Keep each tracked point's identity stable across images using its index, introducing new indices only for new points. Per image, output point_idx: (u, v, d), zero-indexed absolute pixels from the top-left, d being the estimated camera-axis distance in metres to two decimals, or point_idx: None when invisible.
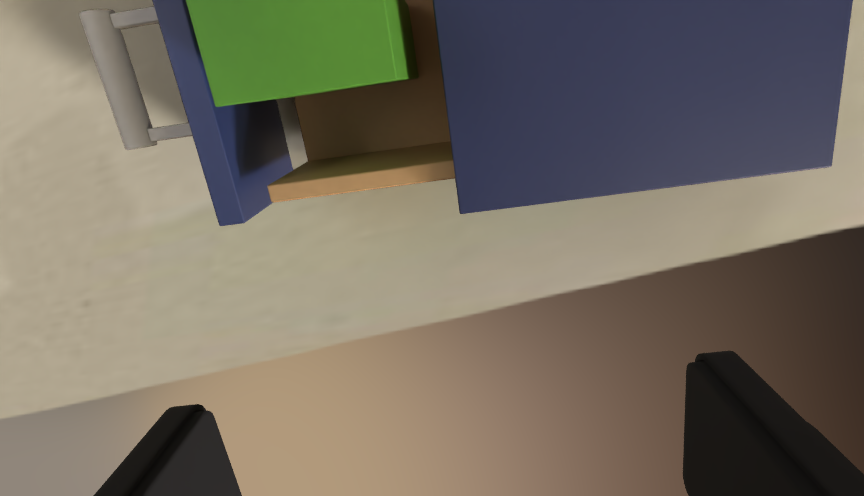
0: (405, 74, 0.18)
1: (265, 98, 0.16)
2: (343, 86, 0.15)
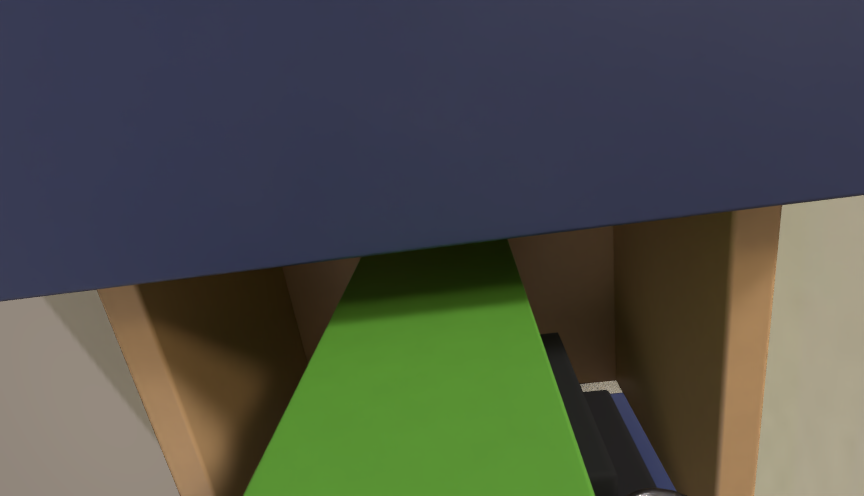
0: (527, 327, 0.07)
1: None
2: None
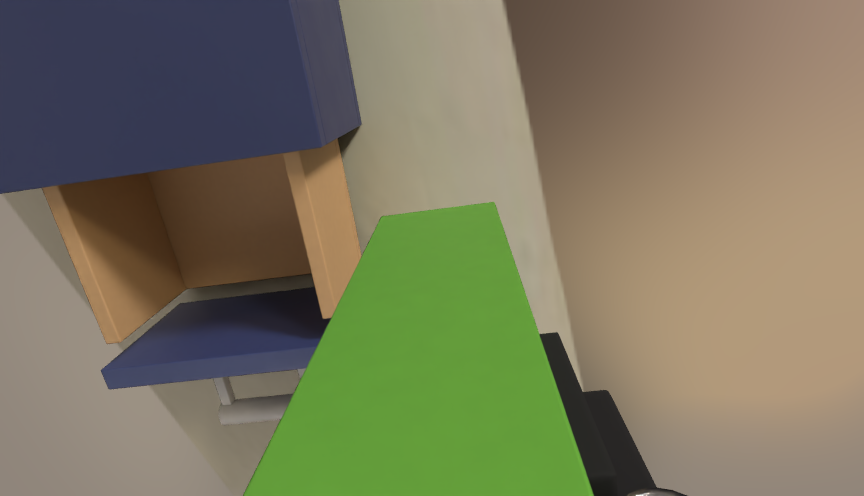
0: (527, 328, 0.07)
1: None
2: None
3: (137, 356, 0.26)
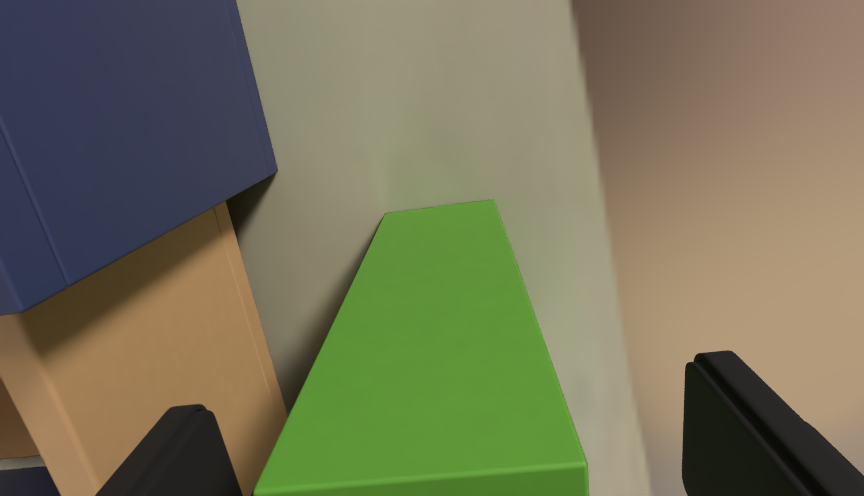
0: (525, 315, 0.08)
1: None
2: None
3: None
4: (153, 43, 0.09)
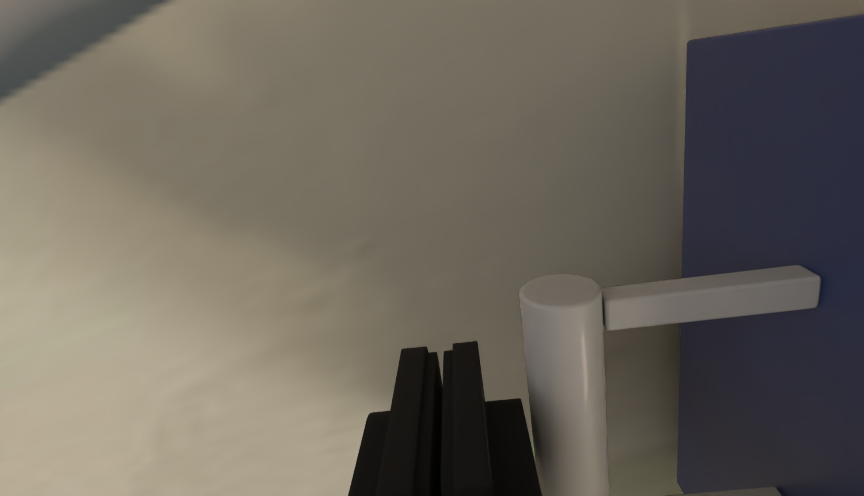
0: None
1: None
2: None
3: None
4: None
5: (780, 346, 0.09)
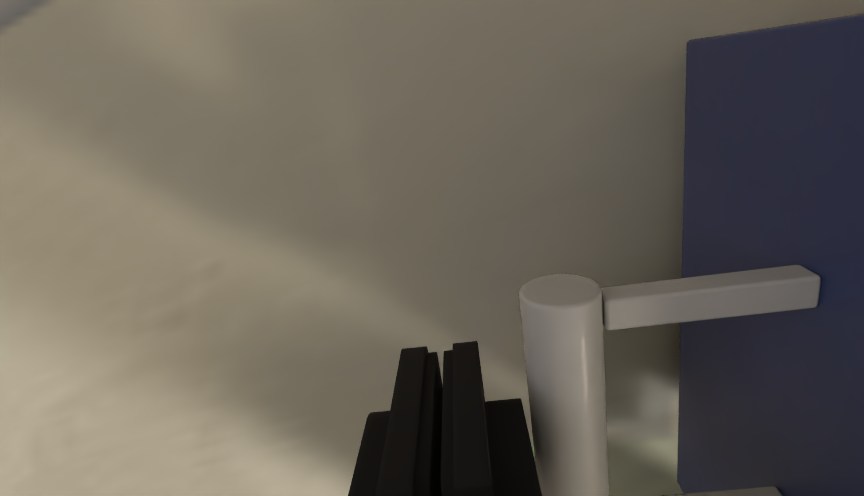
0: None
1: None
2: None
3: None
4: None
5: (781, 346, 0.09)
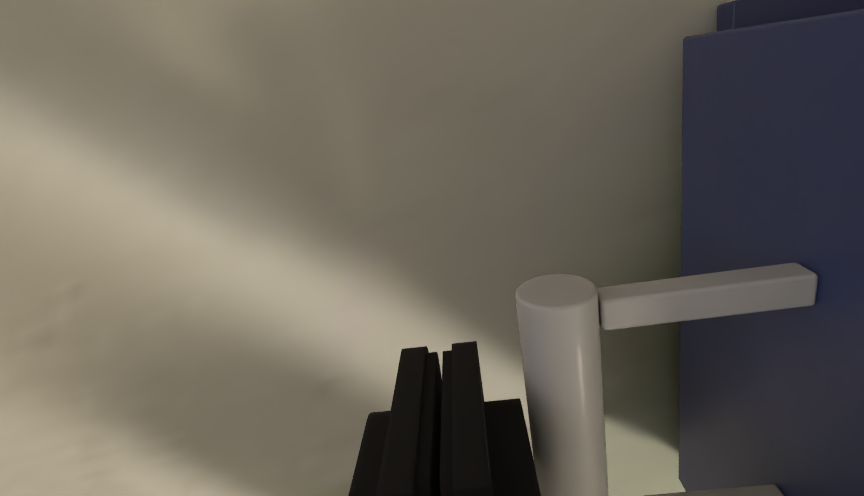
0: None
1: None
2: None
3: None
4: None
5: (779, 344, 0.09)
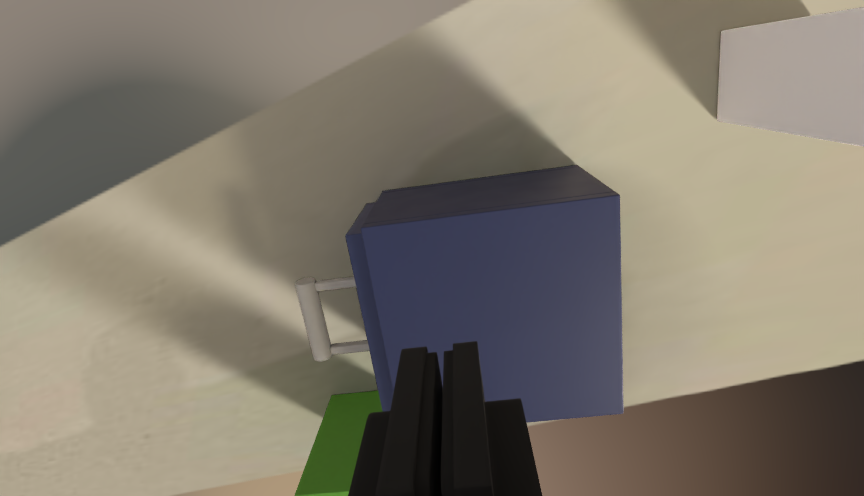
0: None
1: None
2: None
3: None
4: None
5: None
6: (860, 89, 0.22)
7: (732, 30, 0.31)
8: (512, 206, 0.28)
